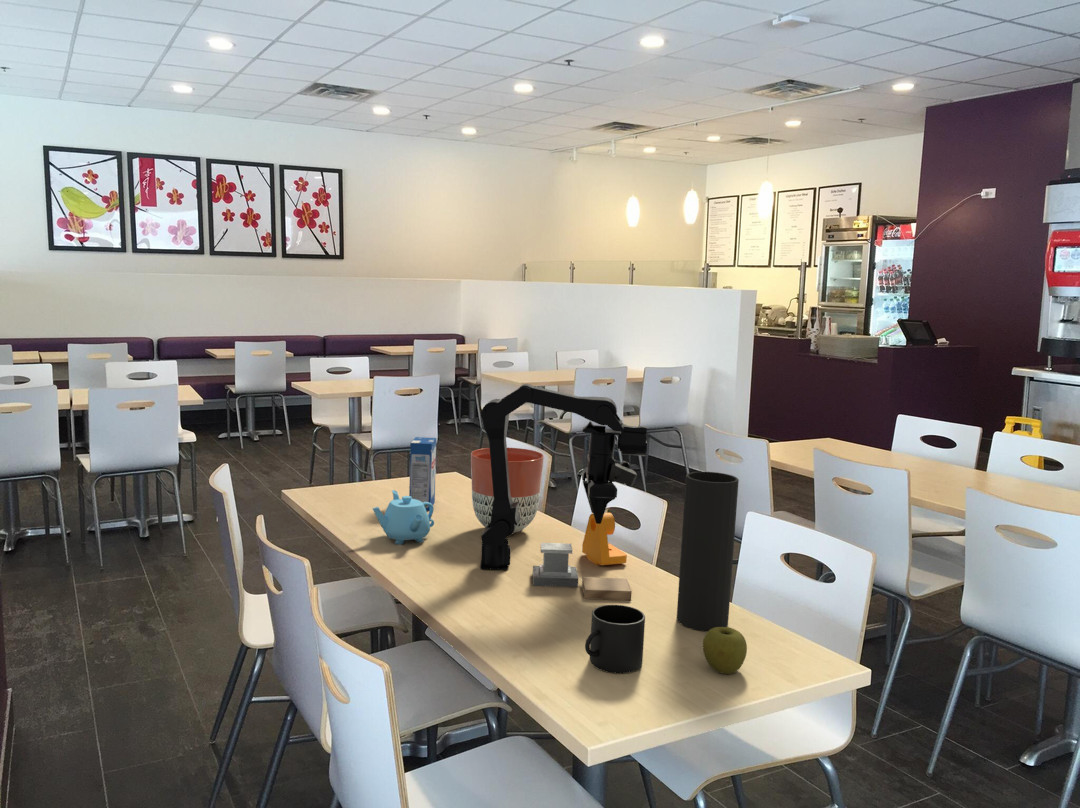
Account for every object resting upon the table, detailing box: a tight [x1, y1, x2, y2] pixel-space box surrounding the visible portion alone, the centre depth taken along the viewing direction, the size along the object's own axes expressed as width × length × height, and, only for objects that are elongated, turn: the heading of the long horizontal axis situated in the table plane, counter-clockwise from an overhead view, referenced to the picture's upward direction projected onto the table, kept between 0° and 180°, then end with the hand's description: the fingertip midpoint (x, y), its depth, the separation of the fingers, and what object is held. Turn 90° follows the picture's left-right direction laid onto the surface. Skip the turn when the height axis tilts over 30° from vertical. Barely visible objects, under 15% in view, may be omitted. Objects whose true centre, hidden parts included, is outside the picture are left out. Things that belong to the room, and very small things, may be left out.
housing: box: [539, 542, 573, 576], centre depth 192 cm, size 7×5×6 cm
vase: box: [676, 471, 740, 632], centre depth 170 cm, size 10×10×30 cm
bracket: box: [581, 512, 628, 566], centre depth 208 cm, size 11×7×12 cm, turn 22°
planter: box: [470, 447, 545, 534], centre depth 229 cm, size 20×20×21 cm
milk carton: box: [408, 436, 437, 512], centre depth 252 cm, size 10×6×20 cm, turn 179°
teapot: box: [372, 489, 435, 546], centre depth 219 cm, size 15×14×11 cm
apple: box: [702, 626, 748, 675], centre depth 150 cm, size 8×8×7 cm
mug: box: [584, 604, 646, 674], centre depth 150 cm, size 9×12×9 cm
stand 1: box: [532, 565, 579, 588], centre depth 193 cm, size 10×8×2 cm
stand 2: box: [581, 576, 633, 601], centre depth 186 cm, size 10×8×2 cm
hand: (596, 518), depth 198 cm, fingers open, 9 cm apart
